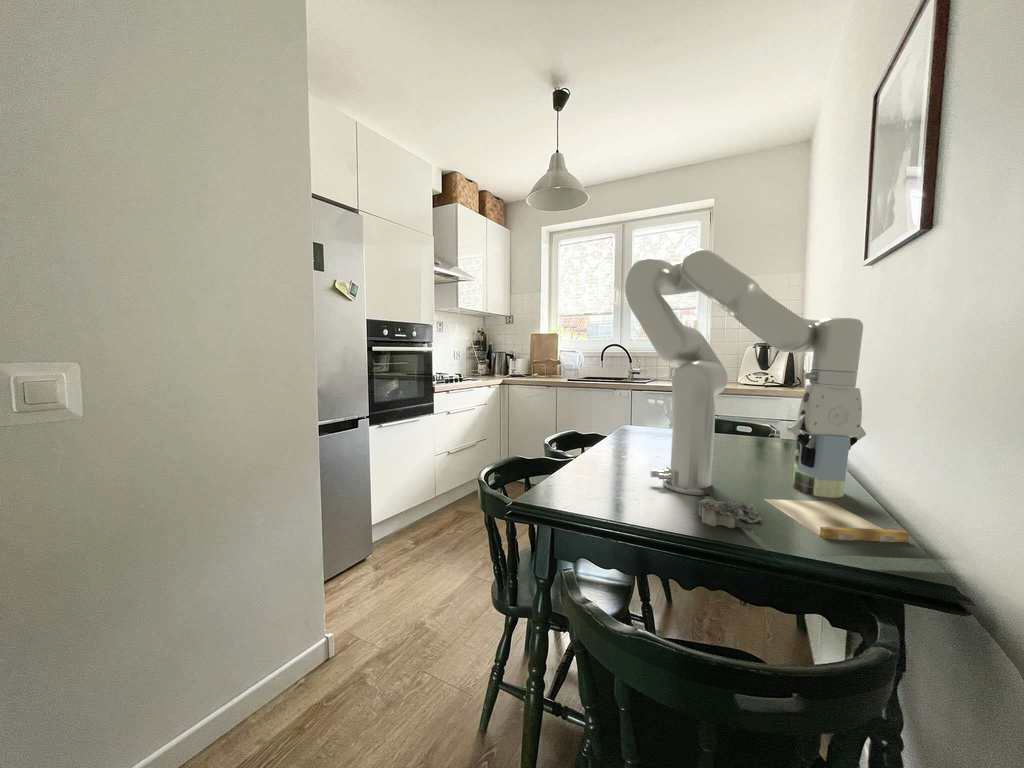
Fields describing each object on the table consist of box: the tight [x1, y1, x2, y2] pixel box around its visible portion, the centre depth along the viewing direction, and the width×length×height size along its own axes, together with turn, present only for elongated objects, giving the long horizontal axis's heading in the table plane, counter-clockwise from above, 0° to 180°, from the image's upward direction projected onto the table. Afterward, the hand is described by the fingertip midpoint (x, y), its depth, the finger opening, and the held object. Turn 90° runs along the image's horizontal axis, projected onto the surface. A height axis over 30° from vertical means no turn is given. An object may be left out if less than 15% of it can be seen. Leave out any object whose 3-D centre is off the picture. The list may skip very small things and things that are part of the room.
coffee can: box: [792, 439, 847, 499], centre depth 103 cm, size 10×10×14 cm
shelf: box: [763, 498, 910, 543], centre depth 86 cm, size 14×20×3 cm
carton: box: [798, 430, 850, 483], centre depth 89 cm, size 5×7×9 cm
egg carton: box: [697, 498, 762, 531], centre depth 87 cm, size 11×8×4 cm
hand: (822, 465), depth 89 cm, fingers closed on carton, 5 cm apart
